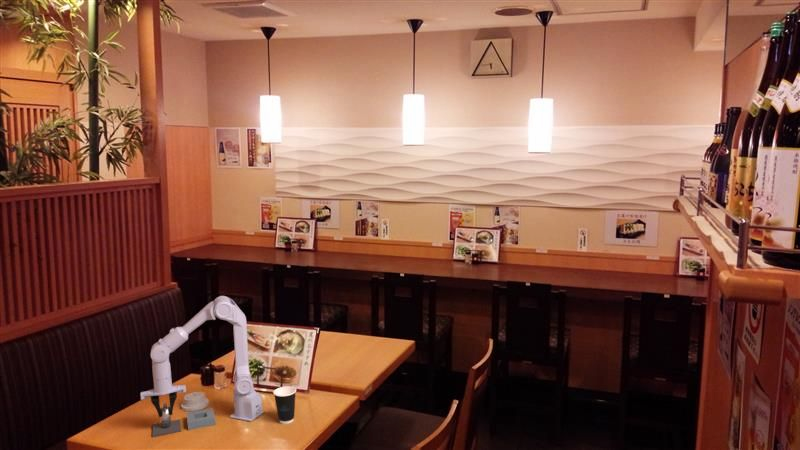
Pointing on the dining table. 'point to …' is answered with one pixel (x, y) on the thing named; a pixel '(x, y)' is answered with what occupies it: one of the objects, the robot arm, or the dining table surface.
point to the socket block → (200, 418)
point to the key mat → (166, 428)
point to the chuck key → (165, 415)
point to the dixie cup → (285, 403)
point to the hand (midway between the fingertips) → (165, 414)
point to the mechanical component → (194, 401)
